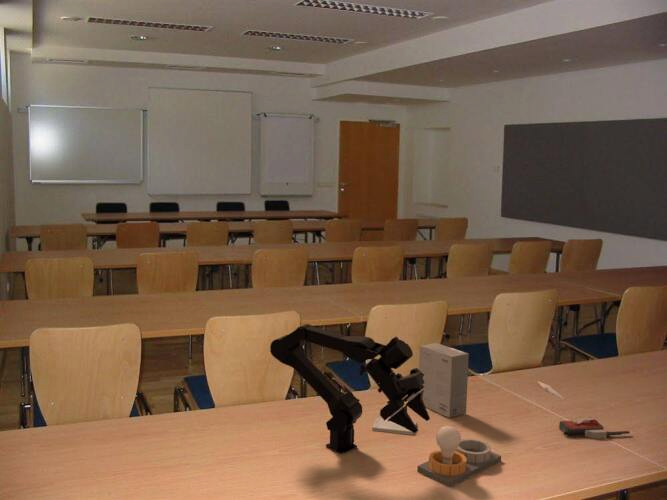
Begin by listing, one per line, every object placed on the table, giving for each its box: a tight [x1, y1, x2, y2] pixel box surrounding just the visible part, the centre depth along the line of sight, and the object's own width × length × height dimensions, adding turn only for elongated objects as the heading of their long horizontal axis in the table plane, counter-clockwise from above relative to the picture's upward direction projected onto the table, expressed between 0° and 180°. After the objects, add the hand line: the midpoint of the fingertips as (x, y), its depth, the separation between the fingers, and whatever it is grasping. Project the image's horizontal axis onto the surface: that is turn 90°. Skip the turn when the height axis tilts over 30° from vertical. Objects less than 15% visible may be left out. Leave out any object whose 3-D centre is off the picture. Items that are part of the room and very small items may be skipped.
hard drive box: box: [418, 342, 470, 419], centre depth 223 cm, size 16×8×20 cm, turn 34°
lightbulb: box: [435, 425, 462, 465], centre depth 179 cm, size 6×6×11 cm
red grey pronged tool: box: [558, 416, 631, 440], centre depth 207 cm, size 9×4×20 cm
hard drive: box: [371, 417, 418, 436], centre depth 208 cm, size 2×8×12 cm
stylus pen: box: [537, 380, 565, 400], centre depth 241 cm, size 15×3×2 cm, turn 18°
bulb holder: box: [417, 438, 502, 487], centre depth 183 cm, size 22×11×4 cm, turn 133°
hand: (422, 425), depth 181 cm, fingers open, 9 cm apart
